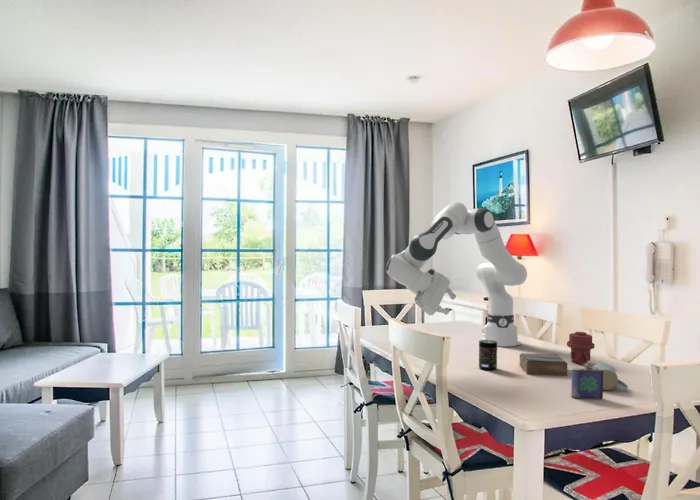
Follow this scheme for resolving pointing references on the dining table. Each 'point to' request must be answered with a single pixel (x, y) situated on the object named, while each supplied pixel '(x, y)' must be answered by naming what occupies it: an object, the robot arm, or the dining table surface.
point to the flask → (587, 383)
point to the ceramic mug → (610, 377)
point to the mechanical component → (580, 347)
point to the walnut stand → (543, 364)
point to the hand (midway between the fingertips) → (451, 305)
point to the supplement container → (488, 355)
